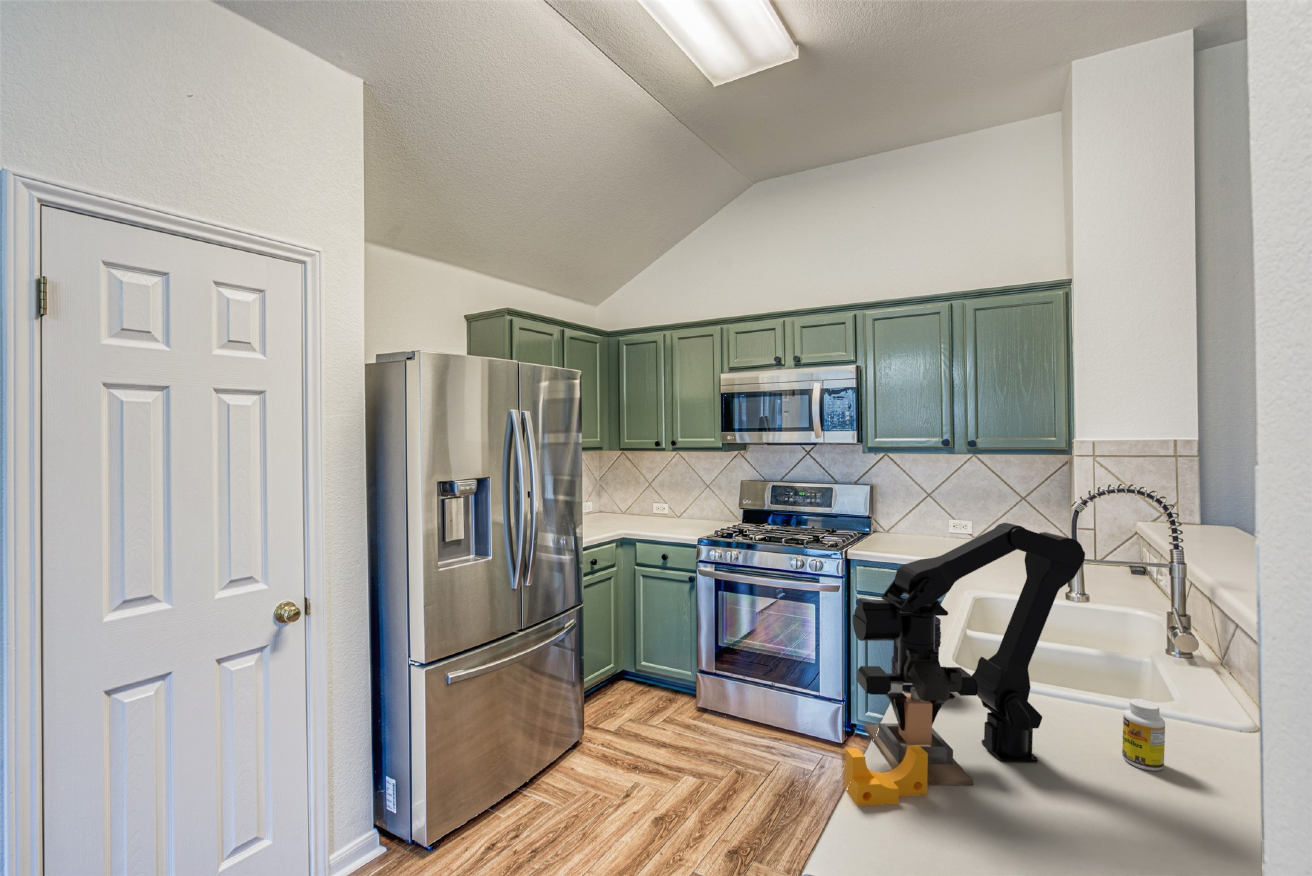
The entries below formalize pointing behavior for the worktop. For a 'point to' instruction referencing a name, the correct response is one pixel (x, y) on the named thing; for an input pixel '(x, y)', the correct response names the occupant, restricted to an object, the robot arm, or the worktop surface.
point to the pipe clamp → (886, 778)
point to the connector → (917, 720)
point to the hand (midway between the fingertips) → (914, 729)
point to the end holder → (939, 752)
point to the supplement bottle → (1143, 735)
